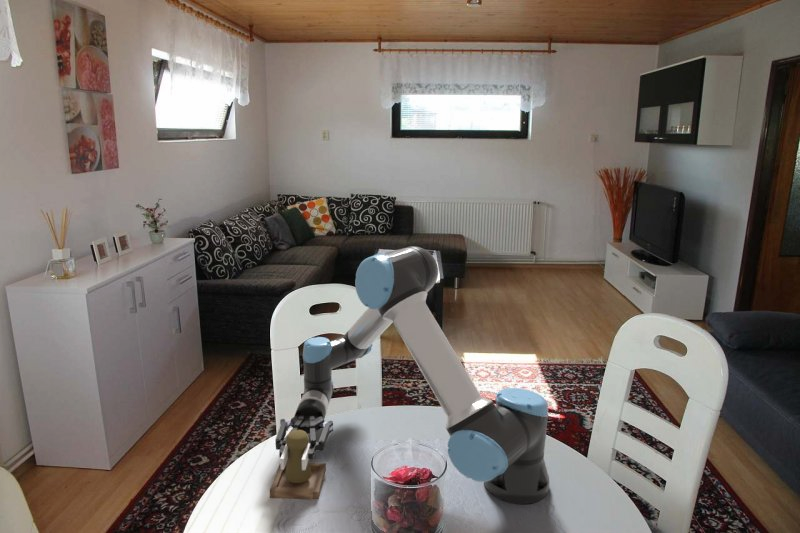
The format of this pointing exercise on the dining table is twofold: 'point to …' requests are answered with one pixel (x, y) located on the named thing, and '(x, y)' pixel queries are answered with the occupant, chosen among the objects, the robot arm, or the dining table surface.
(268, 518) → the dining table surface
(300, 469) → the cork
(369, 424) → the dining table surface
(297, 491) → the tray
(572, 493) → the dining table surface
